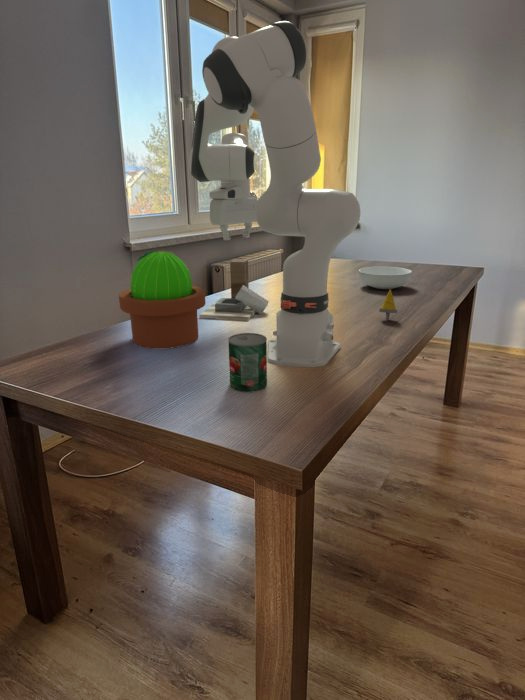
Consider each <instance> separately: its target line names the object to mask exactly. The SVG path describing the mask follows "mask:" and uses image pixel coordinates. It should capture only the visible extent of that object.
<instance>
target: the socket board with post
mask: <svg viewBox="0 0 525 700" xmlns="http://www.w3.org/2000/svg"><path fill="white" fill-rule="evenodd" d="M229 264H230V267H229V268H230V272H229V273H230V297H220V298H219V299H218V300H216V301H215V302H214V303H212V304H211V305H210V306H209V307H207V308H206V309H205V310H203V311H202V312H200V314H199V316H198V317H199V319H204V318H216V319H215V320H223V319H228V320H227V321H241V320H242V322H243V321H245V322H249V321H251V319H252V318H253V317H254V316H255V314H257V312H256V311H254V310H253V309H251V308H250V307H248V306H246V305H245V304H243V303H242V302H240V301H239V300H237V299H235V297H236V295H237V294H238V292H239V290H240V289H241V287H242V286H243V285H244V286H246V287H247V288H249V284H250V283H249V260H248V259H233V260H231V261H230V262H229ZM249 289H250V288H249Z"/></svg>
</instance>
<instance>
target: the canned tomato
mask: <svg viewBox="0 0 525 700" xmlns="http://www.w3.org/2000/svg"><path fill="white" fill-rule="evenodd" d="M227 341H228V361H229V363H228V364H229V365H228V367H229V369H228V371H229V385H230V388H231V389H232V390H234V391H237V392H241V393H254V392H259V391H262V390H263V389H266V388H267V386H268V363H267V362H268V343H267V341H268V339H267V337H266V336H265V335H264V334H260V333H257V332H256V333H255V332H242V333H241V332H240V333H236V334H233V335H231V336H229V337H228V339H227Z"/></svg>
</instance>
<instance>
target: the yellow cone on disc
mask: <svg viewBox="0 0 525 700" xmlns="http://www.w3.org/2000/svg"><path fill="white" fill-rule="evenodd" d="M378 311H379V312H380V313H385V320H386V322H388V321H389V319H390V315H391V314H397V313H398V309H397V308H396V304H395V300H394V297H393V292H392V289H388V292H387V295H386V297H385V299H384V301H383V303H382V304H381V308H379V310H378Z"/></svg>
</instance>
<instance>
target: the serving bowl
mask: <svg viewBox="0 0 525 700" xmlns="http://www.w3.org/2000/svg"><path fill="white" fill-rule="evenodd" d="M412 271H413V270H411V269H409V268H404V267H397V266H369V267H368V266H367V267H362V268H360V269H359V268H358V277H359V280H360V281H361V282H362V283H363V284H364V285H366V286H369V287H372V288H374V289H378V290H390V289H391V290H393V289H395V288H400V287H402V286H404V285H406V284H407V283H408V282H409V281H410V279H411V277H412V274H413V272H412Z"/></svg>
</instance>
